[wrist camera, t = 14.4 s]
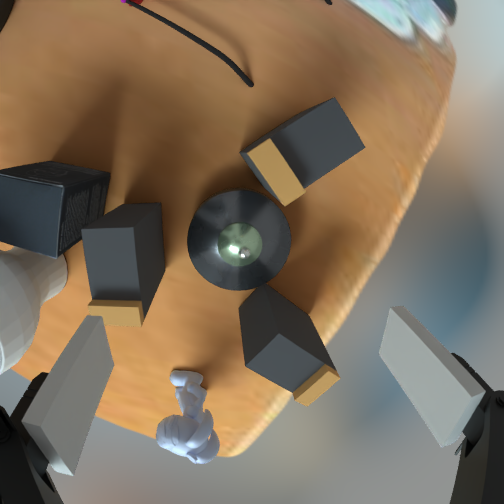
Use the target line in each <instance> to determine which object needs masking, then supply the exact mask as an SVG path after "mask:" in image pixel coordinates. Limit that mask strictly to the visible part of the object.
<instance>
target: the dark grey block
mask: <svg viewBox="0 0 504 504" xmlns="http://www.w3.org/2000/svg"><path fill="white" fill-rule="evenodd" d="M239 316H240V325H241V334H242V343H243V352H244V360H245V366H246V367H247V368H249V369H251V370H253V371H254V372H256V373H258V374H260V375H261V376H263V377H265V378H267V379H268V380H270V381H272V382H274V383H276V384H277V385H279V386H281V387H283V388H285V389H287V390H288V391H290V392H292V393H293V396H294V400H295V401H297V402H299V403H301V404H303V405H305V406H308V405H310V404H311V403H312V402H313V401H315V400H316V399H317V398H318V397H319V396H320V395H321V394H323V393H324V392H325V391H326V390H327V389H329V388H330V387H331V386H332V385H333V384H335V382H337V381H338V380H339V379H340V377H339V375H338V373H337V370H336V368H335V366H334V365H333V362H332V360H331V358H330V356H329V354H328V352H327V350H326V348H325V346H324V344H323V342H322V340H321V338H320V336H319V334H318V332H317V330H316V328H315V326H314V324H313V322H312V320H311V318H310V316H309V315H307V314H306V313H305V312H303V311H302V310H301V309H299V308H298V307H297V306H295V305H294V304H293V303H291V302H290V301H289V300H287V299H286V298H285V297H283V296H282V295H281V294H279V293H278V292H277V291H275V290H274V289H273V288H271V287H270V286H269V285H267V284H266V283H265V284H263V285H261V286H259V287H257V288H256V290H255V291H254V292H253V293H252V294H251V295H250V296H249V297H248V298H247V299H246V300H245V302H244V303H243V304H242V305H241V306H240V307H239Z"/></svg>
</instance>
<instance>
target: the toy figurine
mask: <svg viewBox="0 0 504 504" xmlns="http://www.w3.org/2000/svg"><path fill="white" fill-rule="evenodd" d="M170 381H171V382H172V383H173V384H174V385H175V386H184V387H177V388H176V389H175V391H176V392H175V396H176V398H177V399H178V402H179V406H180V408H181V411H182V413H183V416H180V415H171V416H169V417H166V418H164V419H163V420H162V421H161V422H160V423H159V424H158V427H157V433H156V440H157V443H158V444H159V446H161V447H162V448H165V449H168V450H170V451H171V452H173V453H175V454H178V455H180V456H186V457H188V458H189V459H190V460H191V461H192V462H193V463H195V464H197V463H200V464H205V463H208V462H209V461H211V460H212V459H213V458H214V457H215V456H216V455H217V453H218V451H219V446H220V442H219V439H218V436H217V434H216V432H215V431H214V430H213V424H214V422H213V417H212V415H211V413H210V411H209V410H207V409H205V413H204V412H203V402H204V401H205V397H206V395H207V391H206V390H205V389H204V388H202V387H201V386H200V384H201V383H202V381H203V376H202V375H201V374H200V373H197V372H193V371H185V370H182V371H179V370H173V371H172V373H171V375H170ZM210 434H211V436H210V439H209V441H208V437H209V435H210Z"/></svg>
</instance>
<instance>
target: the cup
mask: <svg viewBox="0 0 504 504" xmlns="http://www.w3.org/2000/svg"><path fill="white" fill-rule="evenodd" d="M67 274H68V271H67V264H66V261H65V258H64V255H63V254H62V255H60V256H59V257H58V258H57V259H55V258H52V257H49V256H46V255H42V254H39V253H36V252H33V251H29V250H26V249H23V248H19V247H16V246H14V247H13V248H12V249H11V250H8V251H2V250H0V374H2V373H3V372H5V371H6V370H8V369H9V368H11V367H12V366H14V365H15V364H16V363H17V362H18V361H19V360H20V358H21V357H22V356H23V355H24V353H25V352H26V351H27V349H28V348H29V347H30V345H31V344H32V341H33V338H34V335H35V332H36V329H37V325H38V322H39V318H40V308H41V306H42V305H43V303H44V302H45V301H47V300H49V299H50V298H52V297H54V296H55V295H57V294H58V293H59V292H61V290H62V289H63V288H64V286H65V284H66V281H67Z"/></svg>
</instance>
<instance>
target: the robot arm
mask: <svg viewBox="0 0 504 504" xmlns="http://www.w3.org/2000/svg"><path fill="white" fill-rule="evenodd" d="M13 3H14V0H0V31H1V29H2V28H3V26H4V24H5V22H6V20H7V18H8V16H9V14H10V11H11V9H12V6H13ZM379 355H380V357H381V358H382V360H383V361H384V363H385V364H386V365H387V367H388V368H389V370H390V371H391V373H392V374H393V375H394V377H395V378H396V380H397V381H398V383H399V384H400V386H401V387H402V389H403V390H404V392H405V393H406V395H407V396H408V397H409V399H410V400H411V402H412V404H413V405H414V406H415V408H416V410H417V411H418V413H419V414H420V416H421V417H422V418H423V420H424V422H425V423H426V425H427V426H428V428H429V429H430V431H431V432H432V434H433V435H434V437H435V439H436V440H437V442H438V443H439V445H440V446H441V448H442V447H445V446H447V445H449V444H452V443H454V442H456V441H457V439H458V437H459V436H460V434H461V433H462V432H463V433H464V435H465V436H466V437H465V439H464V440H463V442H462V443H461V445H460V446H459V447H458V449H457V450H456V452H455V455H457V454H458V453H459V451H460V450H461V455H460V461H459V466H458V471H457V475H456V480H455V485H454V488H453V493H452V497H451V500H450V504H504V391H500V390H499V391H495V392H494V391H493V390H492V389H491V388H490V387H489V385H488V384H487V383H486V382H485V381H484V380H483V379H482V378H481V377H480V376H479V375H478V374H477V373H475V371H474V370H473V369H472V367H469V364H468V363H467V362H466V361H465V360H464V359H463V358H462V357H460V356H458V355H456V354H455V353H450V352H449V351H448V350H447V349H446V348H445V347H444V346H443V345H442V344H441V343H440V342H439V341H438V340H437V339H436V338H435V337H434V336H433V335H432V334H431V333H430V332H429V331H428V330H427V329H426V328H425V327H424V326H423V325H422V324H421V323H420V322H419V321H418V320H417V319H416V318H415V317H414V316H413V315H412V314H411V313H410V312H409V311H408V310H407V309H406V308H405V307H404V306H398V307H390V310H389V315H388V319H387V324H386V328H385V332H384V336H383V340H382V344H381V347H380V351H379ZM113 367H114V362H113V359H112V355H111V351H110V347H109V343H108V339H107V335H106V331H105V327H104V322H103V318H102V316H91V315H87V316H86V318H85V319H84V321H83V322H82V323H81V325H80V326H79V328H78V329H77V331H76V332H75V334H74V335H73V337H72V338H71V340H70V341H69V343H68V344H67V346H66V347H65V349H64V350H63V352H62V354H61V355H60V357H59V358H58V360H57V361H56V363H55V365H54V366H53V368H52V369H51V371H50V373H45V372H42V373H40V374H39V375H38V376H37V377H35V378H34V379H33V380H32V382H31V384H30V385H29V387H28V390H26V391H25V393H24V395H23V397H22V398H21V399H20V401H19V403H18V405H17V406H16V408H15V410H14V411H13V413H12V415H11V416H10V417H9V415H8V414H7V412H6V410H5V409H4V408H3V407H2V406H0V504H64V503H63V501H62V500H61V498H60V496H59V494H58V492H57V490H56V488H55V485H54V483H53V482H52V479H51V477H50V475H49V473H48V472H47V470H46V469H47V466H48V463H50V465H51V466H52V467H53V469H54V470H55V471H56V472H60V473H64V474H68V475H72V476H74V473H75V470H76V467H77V464H78V461H79V458H80V455H81V452H82V449H83V446H84V443H85V440H86V437H87V435H88V432H89V429H90V426H91V423H92V420H93V418H94V415H95V413H96V410H97V407H98V405H99V402H100V399H101V397H102V394H103V392H104V389H105V387H106V384H107V382H108V379H109V377H110V374H111V372H112V369H113Z"/></svg>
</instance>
